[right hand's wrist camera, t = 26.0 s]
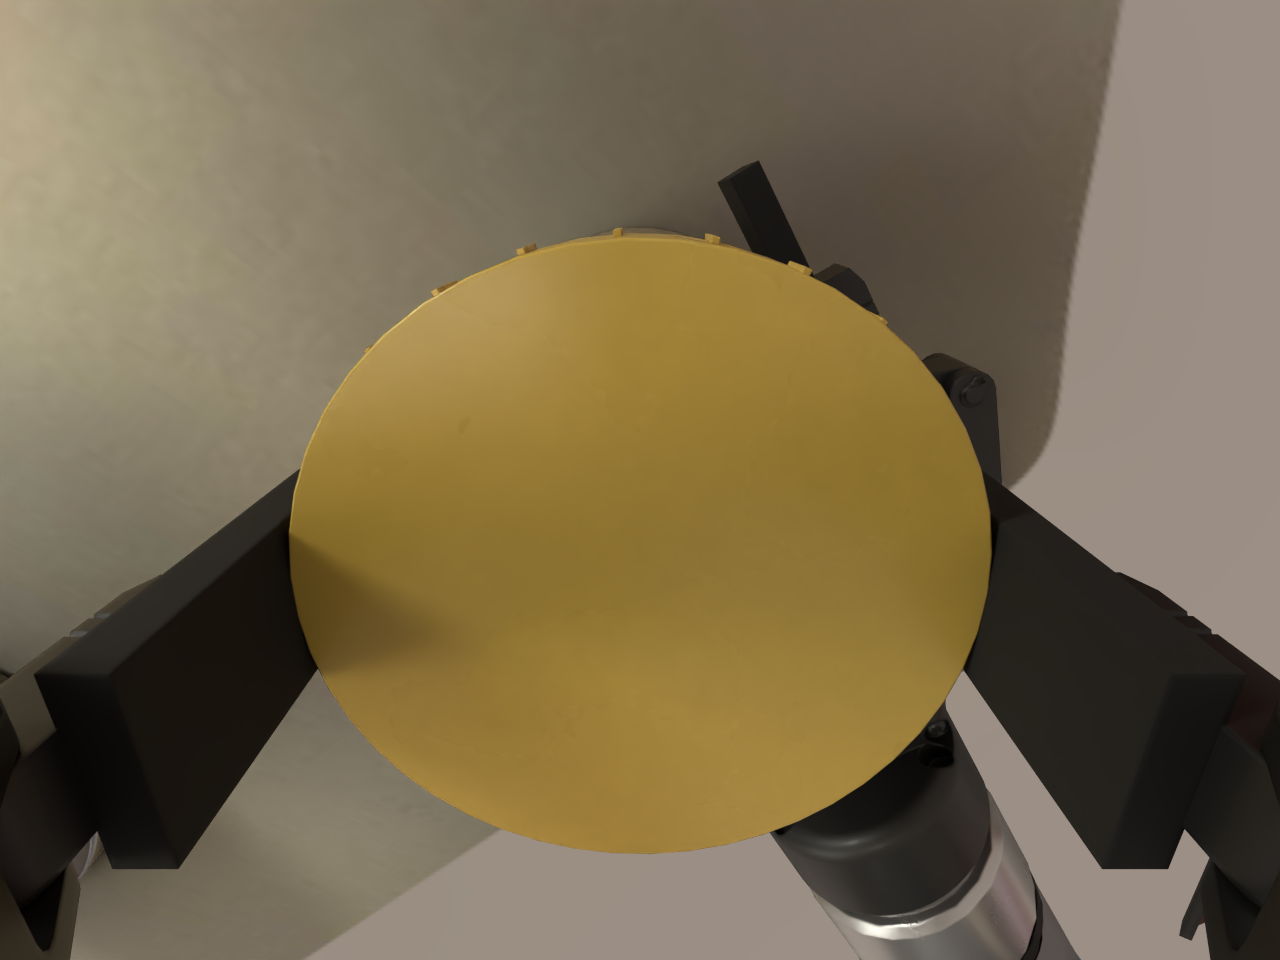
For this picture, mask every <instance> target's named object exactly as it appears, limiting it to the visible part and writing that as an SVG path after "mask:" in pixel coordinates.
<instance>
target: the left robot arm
mask: <svg viewBox="0 0 1280 960" xmlns="http://www.w3.org/2000/svg"><path fill="white" fill-rule="evenodd" d="M717 183H718V185H719V187H720V189H721V190H722V192H723V194H724V196H725V198H726V200H727V202H728V204H729V206H730V208H731V210H732V212H733V214H734V216H735V218H736V220H737V222H738V224H739V226H740V228H741V230H742V232H743V234H744V236H745V238H746V240H747V242H748V244H749V246H750V248H751V250H752V252H753V253H756V254H759V255H762V256H765V257H768V258H771V259H773V260H776V261H778V262H781V263H783V264H786V265H788V263H789V261H792V262H795V263H797V264H800V265H803V266H806V267H808V268H810V267H809V265H808V263H807V261H806V259H805V257H804V255H803V253H802V251H801V248H800V246H799V244H798V242H797V240H796V238H795V236H794V234H793V232H792V230H791V227H790V225H789V223H788V221H787V219H786V217H785V215H784V213H783V211H782V208H781V206H780V204H779V202H778V200H777V198H776V196H775V194H774V192H773V190H772V187H771V185H770V183H769V181H768V179H767V177H766V175H765V173H764V171H763V169H762V166H761V164H760V162H759V161H756V162H754V163H751V164H748V165H746V166H743V167H741V168H740V169H738V170H736V171H735V172H733V173H732V174H730V175H728V176H727V177H725V178H724V179H722V180H721V181H719V182H717ZM810 276H811V277H813V278H815V279H817V280H819V281H821V282H823V283H825V284H827V285H829V286H831V287H833V288H835V289H837V290H838V291H839V292H841V293H842V294H844V295H845V296H847V297H848V298H850V299H851V300H853V301H854V302H856V303H857V304H858V305H860V306H861V307H863V308H864V309H866V310H867V311H869V312H872V313H874V314H876V315H878V316H879V313H878V311H877V308H876V306H875V304H874V303H873V299H872V297H871V295H870V293H869V291H868V288H867V286H866V284H865V282H864V281H863V280H862V279H861V278H860V277H859V276H858V275H856V274H855V273H854V272H853V271H852V270H851V269H850V268H847V267H844V266H841V265H837V264H833V265H831V266H829V267H828V268H826V269H824V270H823V271H821V272H819V273H817V274H816V275H814V276H813V274H812V272H811V274H810ZM922 362H923V363H924V365H925V366H926V367H927V369H928V370H929V371H930V372H931V374H932V375H933V376H934V377H935V379H936V380H937V381H938V382H939V383H940V384H941V386H942V387H943V389H944V391H945V392H946V394H947V396H948V398H949V399H950V401H951V403H952V405H953V406H954V408H955V410H956V412H957V413H958V415H959V417H960V419H961V421H962V422H963V424H964V426H965V428H966V430H967V433H968V435H969V438H970V441H971V443H972V446H973V449H974V451H975V454H976V457H977V459H978V462H979V464H980V467H981V469H982V470H983V471H984V472H986V473H987V474H988V475H990V476H991V477H992V478H993V479H995V480H996V481H997V482H999V483H1000V484H1001V485H1002V478H1001V462H1000V446H999V429H998V413H997V397H996V387H995V383H994V380H993V379H992V378H991V377H990V376H989V375H988V374H986V373H984V372H982V371H980V370H978V369H976V368H974V367H972V366H970V365H967V364H965V363H963V362H961V361H959V360H957V359H955V358H953V357H951V356H948V355H946V354H943V353H935V354H932V355H929V356H927V357H926V358H925V359H923V360H922ZM962 671H964V670H962ZM962 671H961V672H962ZM7 679H9V678H8V677H6V676H4V675H2V674H1V673H0V685H1V684H2V683H3V682H5V681H6V680H7ZM945 700H946V699H945ZM770 834H771V835H772V836H773V838H774V839H775V841H776V842H777V844H778V845H779V846H780V848H781V849H782V851H783V852H784V853H785V855H786V856H787V858H788V859H789V860H790V862H791V863H792V865H793V866H794V867H795V869H796V870H797V872H798V873H799V875H800V876H801V877H802V879H803V880H804V881H805V882H806V884H807V885H808V886H809V887H810V889H811V891H812V893H813V895H814V897H815V898H816V900H817V901H818V902H819V904H820V905H821V906H822V908H823V909H824V910H825V912H826V913H827V914H828V916H829V917H830V919H831V920H832V921H833V923H834V924H835V925H836V927H837V928H838V929H839V931H840V932H841V933H842V935H843V936H844V937H845V939H846V940H847V942H848V943H849V944H850V946H851V947H852V948H853V950H854V951H855V952H856V954H857V955H858V957H859V958H860V960H1081V959H1080V958H1079V956H1078V955H1077V954H1076V952H1075V951H1074V949H1073V947H1072V946H1071V944H1070V942H1069V941H1068V939H1067V937H1066V935H1065V933H1064V932H1063V930H1062V928H1061V926H1060V924H1059V923H1058V921H1057V919H1056V917H1055V916H1054V914H1053V912H1052V911H1051V909H1050V907H1049V905H1048V904H1047V902H1046V900H1045V898H1044V897H1043V895H1042V893H1041V891H1040V890H1039V888H1038V886H1037V884H1036V883H1035V880H1034V878H1033V876H1032V874H1031V872H1030V869H1029V866H1028V863H1027V861H1026V859H1025V857H1024V855H1023V853H1022V851H1021V850H1020V848H1019V846H1018V844H1017V842H1016V840H1015V838H1014V837H1013V835H1012V833H1011V831H1010V829H1009V827H1008V825H1007V823H1006V822H1005V820H1004V818H1003V816H1002V814H1001V812H1000V810H999V808H998V807H997V805H996V803H995V801H994V799H993V797H992V795H991V794H990V792H989V791H988V790H987V788H986V787H985V784H984V781H983V779H982V777H981V775H980V773H979V771H978V769H977V767H976V765H975V763H974V762H973V760H972V758H971V756H970V754H969V752H968V750H967V748H966V746H965V745H964V743H963V741H962V739H961V737H960V735H959V733H958V731H957V729H956V728H955V726H954V724H953V722H952V720H951V718H950V716H949V714H948V712H947V710H946V705H945V701H944V702H943V704H942V705H941V706H940V708H939V709H938V710H937V712H936V713H935V714H934V715H933V717H932V718H931V719H930V721H929V722H928V723H927V725H926V726H925V727H924V729H923V730H922V731H921V732H920V733H919V734H918V735H917V736H916V738H915V739H914V740H913V741H912V742H911V743H910V744H909V745H908V746H907V747H906V748H905V749H904V750H903V751H902V752H901V753H900V754H899V755H898V756H897V757H896V758H895V759H894V760H893V761H892V762H890V763H889V764H888V765H887V766H885V767H884V768H883V769H882V770H880V771H879V772H878V773H877V774H876V775H874V776H873V777H872V778H871V779H869V780H868V781H867V782H866V783H864V784H863V785H861V786H860V787H858V788H857V789H855V790H854V791H852V792H850V793H849V794H847V795H846V796H844V797H843V798H841V799H840V800H838V801H836V802H835V803H833V804H832V805H830V806H828V807H826V808H824V809H822V810H820V811H818V812H816V813H814V814H812V815H810V816H808V817H806V818H804V819H802V820H800V821H798V822H795V823H792V824H790V825H787V826H785V827H782V828H779V829H777V830H774V831H771V832H770ZM103 850H104V847H103V844H102V842H101V839H100V837H99V834H98V832H96V833H95V834H94V836H93V837H92V838H91V839H90V840H89V841H88V842H87V844H86V845H85V846H84V847H83V848H82V849H81V850H80V852H79V853H78V854H77V855H76V856H75V857H74V859H73V860H72V863H73V865H74V867H75V870H76V872H77V874H78V879H79V880H80V878H81V877H82V876H83V875H84V874H85V872H86V871H87V870H88V869H89V868H90V866H91V865H92V864H93V863H94V862H95V860H96V859H97V858H98V857H99V855H100V854H101V853H102V851H103Z"/></svg>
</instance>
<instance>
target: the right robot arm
mask: <svg viewBox="0 0 1280 960" xmlns="http://www.w3.org/2000/svg"><path fill="white" fill-rule="evenodd" d="M300 469H301V468H300ZM300 469H299V470H297V471H296V472H295V473H294V474H292V475H291V476H290V477H288V478H287V479H286V480H284V481H283V482H282V483H281V484H279V485H278V486H277V487H275V488H274V489H273V490H272V491H270V492H269V493H268V494H266V495H265V496H264V497H262V498H261V499H260V500H259V501H257V502H256V503H255V504H253V505H252V506H251V507H250V508H248V509H247V510H246V511H244V512H243V513H242V514H240V515H239V516H238V517H237V518H235V519H234V520H233V521H231V522H230V523H229V524H227V525H226V526H225V527H224V528H222V529H221V530H220V531H218V532H217V533H216V534H215V535H213V536H212V537H211V538H209V539H208V540H207V541H205V542H204V543H203V544H202V545H200V546H199V547H198V548H196V549H195V550H194V551H193V552H191V553H190V554H189V555H187V556H186V557H185V558H183V559H182V560H181V561H180V562H178V563H177V564H176V565H174V566H173V567H172V568H171V569H169V570H168V571H167V572H165V573H164V574H163V575H159V576H157V577H155V578H153V579H151V580H149V581H147V582H145V583H143V584H141V585H138V586H136V587H134V588H132V589H130V590H128V591H126V592H124V593H122V594H121V595H119V596H118V597H117V598H115V599H114V600H113V601H111V602H110V603H109V604H107V605H106V606H105V607H103V608H102V609H101V610H99V611H98V612H97V613H95V614H94V619H87V620H86V621H85V622H83V623H82V624H81V625H79V626H78V627H77V628H75V629H74V630H73V631H71V632H70V637H63V638H62V639H61V640H59V641H58V642H57V643H55V644H54V645H53V646H51V647H50V648H49V649H47V650H46V651H45V652H43V653H42V654H41V655H39V656H38V657H37V658H35V659H34V660H33V661H31V662H30V663H29V664H27V665H26V666H25V667H23V668H22V669H21V670H19V671H18V672H17V673H15V674H14V675H13V676H11V677H10V678H9V679H7V680H6V681H5V682H3V683H2V684H1V685H0V960H70V956H71V949H72V942H73V936H74V929H75V922H76V916H77V909H78V902H79V896H80V884H79V879H78V874H77V872H76V870H75V867H74V865H73V863H72V860H73V859H74V857H75V856H76V855H77V854H78V853H79V852H80V850H81V849H82V848H83V847H84V846H85V845H86V844H87V842H88V841H89V840H90V839H91V838H92V837H93V836H94V834H95V833H96V832H98V834H99V837H100V839H101V842H102V844H103V847H104V849H105V852H106V854H107V857H108V859H109V862H110V864H111V866H112V869H179V867H180V866H181V864H182V863H183V862H184V860H185V859H186V857H187V856H188V854H189V853H190V851H191V850H192V849H193V847H194V846H195V844H196V843H197V841H198V840H199V839H200V837H201V836H202V834H203V833H204V831H205V830H206V829H207V827H208V826H209V824H210V823H211V821H212V820H213V818H214V817H215V816H216V814H217V813H218V811H219V810H220V808H221V807H222V806H223V804H224V803H225V801H226V800H227V798H228V797H229V795H230V794H231V793H232V791H233V790H234V788H235V787H236V785H237V784H238V783H239V781H240V780H241V778H242V777H243V775H244V774H245V772H246V771H247V770H248V768H249V767H250V765H251V764H252V762H253V761H254V760H255V758H256V757H257V755H258V754H259V752H260V751H261V750H262V748H263V747H264V745H265V744H266V742H267V741H268V739H269V738H270V737H271V735H272V734H273V732H274V731H275V729H276V728H277V727H278V725H279V724H280V722H281V721H282V719H283V718H284V716H285V715H286V714H287V712H288V711H289V709H290V708H291V706H292V705H293V704H294V702H295V701H296V699H297V698H298V696H299V695H300V693H301V692H302V691H303V689H304V688H305V686H306V685H307V683H308V682H309V681H310V679H311V678H312V676H313V675H314V673H315V672H316V671H317V669H318V667H317V665H316V663H315V661H314V659H313V657H312V655H311V653H310V650H309V647H308V645H307V642H306V639H305V636H304V633H303V630H302V627H301V624H300V621H299V617H298V613H297V608H296V603H295V599H294V594H293V588H292V583H291V577H290V556H289V529H290V521H291V512H292V504H293V495H294V490H295V487H296V483H297V479H298V476H299V472H300ZM981 470H982V469H981ZM982 475H983V480H984V485H985V489H986V494H987V499H988V504H989V509H990V520H991V541H992V560H991V569H990V579H989V588H988V593H987V597H986V602H985V606H984V611H983V615H982V619H981V623H980V627H979V631H978V634H977V636H976V639H975V641H974V644H973V646H972V648H971V651H970V653H969V656H968V658H967V661H966V663H965V665H964V668H963V670H964V671H965V673H966V674H967V676H968V677H969V678H970V680H971V681H972V683H973V684H974V686H975V687H976V689H977V690H978V691H979V693H980V694H981V696H982V697H983V699H984V700H985V701H986V703H987V704H988V706H989V707H990V709H991V710H992V711H993V713H994V714H995V716H996V717H997V719H998V720H999V722H1000V723H1001V724H1002V726H1003V727H1004V729H1005V730H1006V732H1007V733H1008V734H1009V736H1010V737H1011V739H1012V740H1013V742H1014V743H1015V744H1016V746H1017V747H1018V749H1019V750H1020V752H1021V753H1022V755H1023V756H1024V757H1025V759H1026V760H1027V762H1028V763H1029V765H1030V766H1031V767H1032V769H1033V770H1034V772H1035V773H1036V775H1037V776H1038V778H1039V779H1040V780H1041V782H1042V783H1043V785H1044V786H1045V788H1046V789H1047V790H1048V792H1049V793H1050V795H1051V796H1052V798H1053V799H1054V801H1055V802H1056V803H1057V805H1058V806H1059V808H1060V809H1061V810H1062V812H1063V813H1064V815H1065V816H1066V818H1067V819H1068V821H1069V822H1070V823H1071V825H1072V826H1073V828H1074V829H1075V831H1076V832H1077V834H1078V835H1079V836H1080V838H1081V839H1082V841H1083V842H1084V844H1085V845H1086V846H1087V848H1088V849H1089V851H1090V852H1091V854H1092V855H1093V857H1094V858H1095V859H1096V861H1097V862H1098V864H1099V865H1100V866H1101V868H1102V869H1168V868H1169V865H1170V863H1171V861H1172V858H1173V856H1174V853H1175V851H1176V848H1177V846H1178V843H1179V841H1180V839H1181V836H1182V834H1183V831H1184V829H1185V830H1186V831H1187V832H1188V833H1189V834H1190V836H1191V837H1192V838H1193V839H1194V840H1195V841H1196V842H1197V844H1198V845H1199V846H1200V847H1201V848H1202V849H1203V850H1204V852H1205V853H1206V854H1207V855H1208V856H1209V857H1210V858H1209V860H1208V863H1207V865H1206V867H1205V870H1204V872H1203V874H1202V877H1201V879H1200V881H1199V883H1198V886H1197V888H1196V890H1195V893H1194V895H1193V897H1192V900H1191V902H1190V904H1189V907H1188V909H1187V911H1186V913H1185V916H1184V918H1183V920H1182V925H1181V929H1180V934H1179V935H1180V936H1182V937H1184V938H1186V939H1189V940H1192V938H1193V936H1194V934H1195V932H1196V929H1197V927H1198V925H1200V924H1203V923H1205V926H1206V933H1207V939H1208V946H1209V953H1210V959H1211V960H1280V680H1278V679H1277V678H1276V677H1274V676H1273V675H1272V674H1270V673H1269V672H1268V671H1266V670H1265V669H1264V668H1262V667H1261V666H1260V665H1258V664H1257V663H1256V662H1254V661H1253V660H1252V659H1250V658H1249V657H1247V656H1246V655H1245V654H1243V653H1242V652H1241V651H1239V650H1238V649H1237V648H1235V647H1234V646H1233V645H1231V644H1230V643H1228V642H1227V641H1226V640H1225V639H1223V638H1222V637H1220V636H1219V635H1218V634H1212V633H1211V629H1210V628H1208V627H1207V626H1206V625H1204V624H1203V623H1202V622H1200V621H1199V620H1198V619H1196V618H1195V617H1194V616H1188V615H1187V611H1185V610H1184V609H1183V608H1181V607H1180V606H1179V605H1177V604H1176V603H1175V602H1173V601H1172V600H1171V599H1169V598H1168V597H1167V596H1165V595H1164V594H1163V593H1161V592H1160V591H1158V590H1156V589H1154V588H1152V587H1150V586H1148V585H1146V584H1144V583H1142V582H1139V581H1137V580H1135V579H1133V578H1131V577H1129V576H1127V575H1125V574H1123V573H1120V572H1114V571H1113V570H1111V569H1110V568H1109V567H1107V566H1106V565H1105V564H1104V563H1102V562H1101V561H1100V560H1098V559H1097V558H1096V557H1094V556H1093V555H1092V554H1091V553H1089V552H1088V551H1087V550H1085V549H1084V548H1083V547H1082V546H1080V545H1079V544H1078V543H1076V542H1075V541H1074V540H1072V539H1071V538H1070V537H1069V536H1067V535H1066V534H1065V533H1063V532H1062V531H1061V530H1059V529H1058V528H1057V527H1056V526H1054V525H1053V524H1052V523H1050V522H1049V521H1048V520H1046V519H1045V518H1044V517H1043V516H1041V515H1040V514H1039V513H1037V512H1036V511H1035V510H1034V509H1032V508H1031V507H1030V506H1028V505H1027V504H1026V503H1025V502H1023V501H1022V500H1021V499H1019V498H1018V497H1017V496H1015V495H1014V494H1013V493H1012V492H1010V491H1009V490H1008V489H1006V488H1005V487H1004V486H1002V485H1001V484H1000V483H999V482H997V481H996V480H995V479H993V478H992V477H991V476H990V475H988V474H987V473H986V472H984V471H983V470H982Z"/></svg>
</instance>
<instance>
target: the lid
mask: <svg viewBox="0 0 1280 960" xmlns="http://www.w3.org/2000/svg"><path fill="white" fill-rule="evenodd" d="M704 239H705V240H704ZM704 239H698V238H692V237H687V236H681V235H675V234H643V233H623V227H621V228H615V229H614V230H613V235H604V236H595V237H586V238H578V239H574V240H570V241H566V242H563V243H559V244H555V245H551V246H547V247H543V248H539V249H537V248H536V245H535V243H534V244H531V245H528V246H525V247H522V248H519V249H517V250H516V252H517V254H518V256H517V257H515V258H512V259H510V260H507V261H505V262H503V263H500V264H498V265H495V266H493V267H490V268H488V269H485V270H483V271H481V272H478V273H476V274H473V275H471V276H468V277H466V278H465V279H463V280H461V281H459V282H457V281H453V282H451V283H448V284H446V285H443V286H441V287H438V288H436V289H435V290H433V291H432V292H431V294H432V295H433V297H432V298H431V299H429V300H427V301H426V302H424V303H422V304H421V305H420V306H418V307H417V308H416V309H415V310H413V311H412V312H411V313H410V314H409V315H407V316H406V317H405V318H404V319H402V320H401V321H400V322H399V323H397V324H396V325H395V326H394V327H392V328H391V329H390V330H389V331H388V332H386V333H385V334H384V335H383V336H382V337H381V338H380V339H379V340H378V341H377V342H376V343H375V344H373V345H371V346H369V347H368V348H367V349H366V350H365V351H364V353H365V355H364V356H363V358H362V359H361V360H360V361H359V362H358V363H357V364H356V365H355V366H354V367H353V369H352V370H351V371H350V372H349V374H348V375H347V377H346V378H345V380H344V381H343V383H342V384H341V386H340V387H339V389H338V390H337V392H336V393H335V395H334V396H333V398H332V399H331V401H330V402H329V404H328V405H327V407H326V408H325V410H324V412H323V414H322V416H321V418H320V420H319V423H318V425H317V427H316V429H315V431H314V433H313V436H312V438H311V440H310V442H309V444H308V447H307V449H306V451H305V455H304V458H303V462H302V465H301V469H300V472H299V476H298V479H297V483H296V487H295V490H294V495H293V504H292V512H291V521H290V529H289V556H290V577H291V583H292V588H293V594H294V599H295V603H296V608H297V613H298V617H299V621H300V624H301V627H302V630H303V633H304V636H305V639H306V642H307V645H308V647H309V650H310V653H311V655H312V657H313V659H314V661H315V663H316V665H317V667H318V669H319V671H320V673H321V675H322V677H323V679H324V681H325V683H326V685H327V687H328V688H329V690H330V691H331V693H332V694H333V696H334V697H335V699H336V700H337V702H338V703H339V705H340V706H341V708H342V709H343V711H344V712H345V713H346V715H347V716H348V718H349V719H350V720H351V722H352V723H353V724H354V725H355V726H356V727H357V728H358V730H359V731H360V732H361V733H362V734H363V735H364V736H365V738H366V739H367V740H368V741H369V742H370V743H371V744H372V745H373V747H374V748H375V749H376V750H378V751H379V752H380V753H381V754H382V755H383V756H384V757H385V758H386V759H388V760H389V761H390V762H391V763H392V764H393V765H394V766H395V767H396V768H398V769H399V770H400V771H401V772H402V773H403V774H405V775H406V776H407V777H409V778H410V779H412V780H413V781H414V782H416V783H417V784H419V785H420V786H421V787H423V788H424V789H426V790H427V791H428V792H430V793H431V794H433V795H434V796H436V797H438V798H439V799H441V800H443V801H445V802H447V803H448V804H450V805H452V806H454V807H455V808H457V809H459V810H461V811H463V812H464V813H466V814H468V815H470V816H473V817H475V818H477V819H480V820H482V821H484V822H487V823H489V824H491V825H493V826H496V827H498V828H500V829H503V830H506V831H509V832H512V833H516V834H519V835H522V836H525V837H528V838H531V839H534V840H537V841H542V842H547V843H551V844H556V845H560V846H565V847H570V848H574V849H582V850H591V851H600V852H608V853H634V854H656V853H669V852H683V851H692V850H698V849H704V848H710V847H716V846H721V845H727V844H731V843H734V842H738V841H742V840H745V839H749V838H753V837H756V836H760V835H763V834H766V833H769V832H771V831H774V830H777V829H779V828H782V827H785V826H787V825H790V824H792V823H795V822H798V821H800V820H802V819H804V818H806V817H808V816H810V815H812V814H814V813H816V812H818V811H820V810H822V809H824V808H826V807H828V806H830V805H832V804H833V803H835V802H836V801H838V800H840V799H841V798H843V797H844V796H846V795H847V794H849V793H850V792H852V791H854V790H855V789H857V788H858V787H860V786H861V785H863V784H864V783H866V782H867V781H868V780H869V779H871V778H872V777H873V776H874V775H876V774H877V773H878V772H879V771H880V770H882V769H883V768H884V767H885V766H887V765H888V764H889V763H890V762H892V761H893V760H894V759H895V758H896V757H897V756H898V755H899V754H900V753H901V752H902V751H903V750H904V749H905V748H906V747H907V746H908V745H909V744H910V743H911V742H912V741H913V740H914V739H915V738H916V736H917V735H918V734H919V733H920V732H921V731H922V730H923V729H924V727H925V726H926V725H927V723H928V722H929V721H930V719H931V718H932V717H933V715H934V714H935V713H936V712H937V710H938V709H939V708H940V706H941V705H942V704H943V702H944V701H945V699H946V697H947V696H948V694H949V692H950V690H951V689H952V687H953V685H954V684H955V682H956V680H957V678H958V677H959V675H960V673H961V671H962V670H963V668H964V665H965V663H966V661H967V658H968V656H969V653H970V651H971V648H972V646H973V644H974V641H975V639H976V636H977V634H978V631H979V627H980V623H981V619H982V615H983V611H984V606H985V602H986V597H987V593H988V588H989V579H990V569H991V560H992V541H991V520H990V509H989V504H988V499H987V494H986V489H985V485H984V480H983V475H982V470H981V467H980V464H979V462H978V459H977V457H976V454H975V451H974V449H973V446H972V443H971V441H970V438H969V435H968V433H967V430H966V428H965V426H964V424H963V422H962V421H961V419H960V417H959V415H958V413H957V412H956V410H955V408H954V406H953V405H952V403H951V401H950V399H949V398H948V396H947V394H946V392H945V391H944V389H943V387H942V386H941V384H940V383H939V382H938V381H937V380H936V379H935V377H934V376H933V375H932V374H931V372H930V371H929V370H928V369H927V367H926V366H925V365H924V363H923V362H922V361H921V360H920V358H919V357H918V356H917V355H916V353H915V352H914V351H913V350H912V349H911V348H910V347H909V346H908V345H907V344H905V343H904V342H903V341H902V340H901V339H900V338H899V337H898V336H897V335H896V334H895V333H894V332H893V331H891V330H890V329H889V328H888V327H887V326H886V325H887V324H888V321H886V320H885V319H884V318H882V317H880V316H878V315H876V314H874V313H872V312H869V311H867V310H866V309H864V308H863V307H861V306H860V305H858V304H857V303H856V302H854V301H853V300H851V299H850V298H848V297H847V296H845V295H844V294H842V293H841V292H839V291H838V290H837V289H835V288H833V287H831V286H829V285H827V284H825V283H823V282H821V281H819V280H817V279H815V278H813V277H811V276H810V274H811V272H812V269H810V268H808V267H806V266H803V265H800V264H797V263H795V262H792V261H789V263H788V265H786V264H783V263H781V262H778V261H776V260H773V259H771V258H768V257H765V256H762V255H759V254H756V253H753V252H750V251H747V250H744V249H740V248H737V247H734V246H731V245H728V244H725V243H721V242H720V239H721V238H720V237H718V236H715V235H713V234H708V233H706V234H705V238H704Z"/></svg>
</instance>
